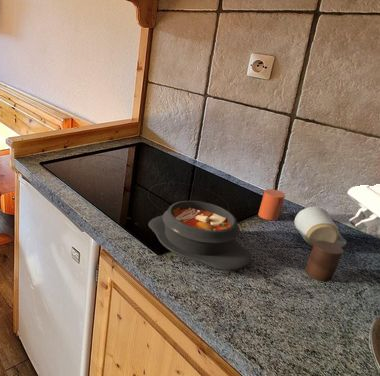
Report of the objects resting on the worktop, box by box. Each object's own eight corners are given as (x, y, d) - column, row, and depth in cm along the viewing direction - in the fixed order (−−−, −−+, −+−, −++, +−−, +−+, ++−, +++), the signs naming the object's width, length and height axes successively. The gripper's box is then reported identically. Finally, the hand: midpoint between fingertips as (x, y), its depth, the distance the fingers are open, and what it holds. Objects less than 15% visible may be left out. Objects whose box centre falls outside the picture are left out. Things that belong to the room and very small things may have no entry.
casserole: (130, 232, 101) (134, 202, 98) (181, 214, 110) (186, 186, 107) (214, 287, 82) (222, 253, 79) (267, 260, 91) (277, 228, 88)
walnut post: (324, 268, 89) (334, 241, 86) (337, 282, 85) (348, 254, 82) (300, 266, 89) (310, 239, 87) (312, 280, 85) (322, 252, 82)
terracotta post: (273, 212, 113) (280, 189, 110) (281, 221, 108) (288, 197, 105) (255, 211, 113) (261, 188, 110) (262, 220, 108) (269, 196, 106)
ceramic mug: (301, 248, 96) (312, 220, 93) (290, 230, 103) (299, 204, 100) (350, 254, 94) (363, 226, 91) (335, 236, 102) (346, 209, 98)
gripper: (376, 164, 101) (323, 197, 106) (442, 201, 82) (374, 239, 87) (389, 181, 102) (336, 213, 107) (455, 222, 84) (388, 258, 89)
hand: (353, 225), depth 97 cm, fingers closed
